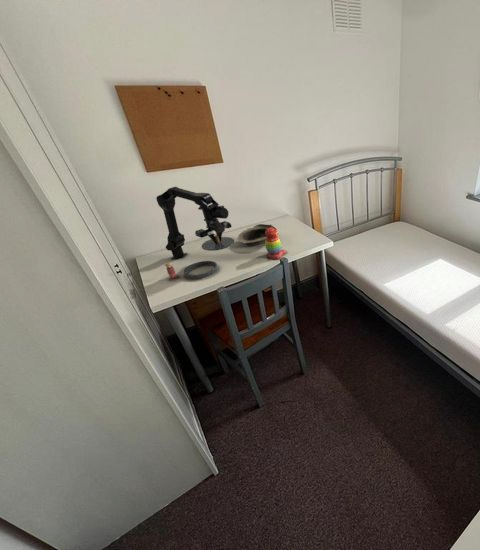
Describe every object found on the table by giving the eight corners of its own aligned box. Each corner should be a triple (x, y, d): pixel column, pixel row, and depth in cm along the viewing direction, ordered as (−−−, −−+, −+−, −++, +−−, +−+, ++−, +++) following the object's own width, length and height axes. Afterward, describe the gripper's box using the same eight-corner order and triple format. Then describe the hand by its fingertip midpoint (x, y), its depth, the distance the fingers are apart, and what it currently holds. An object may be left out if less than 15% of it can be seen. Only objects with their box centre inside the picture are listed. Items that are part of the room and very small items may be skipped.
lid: (208, 239, 176) (205, 230, 173) (238, 237, 178) (236, 229, 175) (197, 252, 161) (193, 243, 158) (229, 250, 163) (227, 241, 160)
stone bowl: (283, 236, 205) (281, 224, 200) (266, 254, 186) (263, 241, 180) (252, 232, 210) (249, 221, 205) (232, 250, 190) (228, 237, 185)
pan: (193, 266, 170) (191, 261, 169) (222, 264, 172) (220, 260, 170) (180, 281, 156) (178, 276, 155) (212, 279, 157) (210, 274, 156)
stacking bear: (279, 259, 176) (274, 232, 166) (264, 258, 177) (258, 231, 168) (287, 251, 185) (282, 225, 175) (272, 250, 186) (267, 224, 177)
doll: (172, 276, 160) (165, 260, 155) (179, 276, 161) (173, 260, 155) (168, 280, 157) (161, 264, 152) (176, 280, 157) (169, 264, 152)
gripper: (202, 225, 150) (210, 252, 158) (233, 214, 163) (240, 240, 171) (190, 221, 156) (199, 247, 164) (222, 211, 169) (229, 236, 177)
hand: (218, 242), depth 169 cm, fingers closed on lid, 2 cm apart
